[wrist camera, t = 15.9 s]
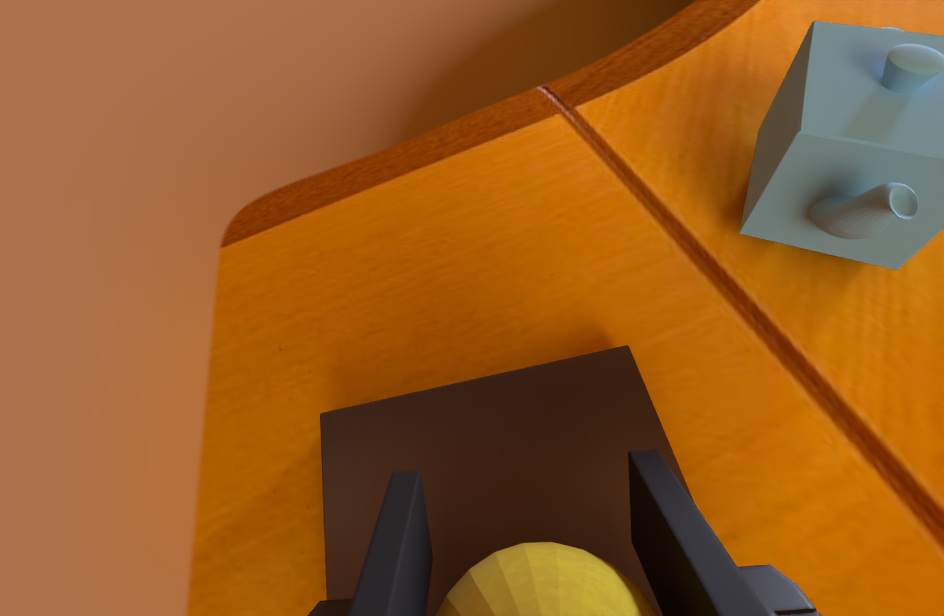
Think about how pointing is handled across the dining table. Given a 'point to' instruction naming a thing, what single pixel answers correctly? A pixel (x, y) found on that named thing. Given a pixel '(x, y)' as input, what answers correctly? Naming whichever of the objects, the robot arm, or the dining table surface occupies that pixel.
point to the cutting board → (496, 467)
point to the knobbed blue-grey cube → (853, 147)
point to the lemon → (545, 585)
